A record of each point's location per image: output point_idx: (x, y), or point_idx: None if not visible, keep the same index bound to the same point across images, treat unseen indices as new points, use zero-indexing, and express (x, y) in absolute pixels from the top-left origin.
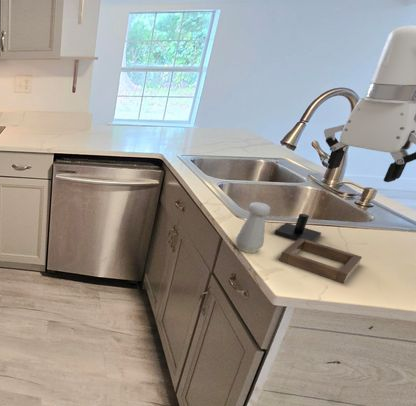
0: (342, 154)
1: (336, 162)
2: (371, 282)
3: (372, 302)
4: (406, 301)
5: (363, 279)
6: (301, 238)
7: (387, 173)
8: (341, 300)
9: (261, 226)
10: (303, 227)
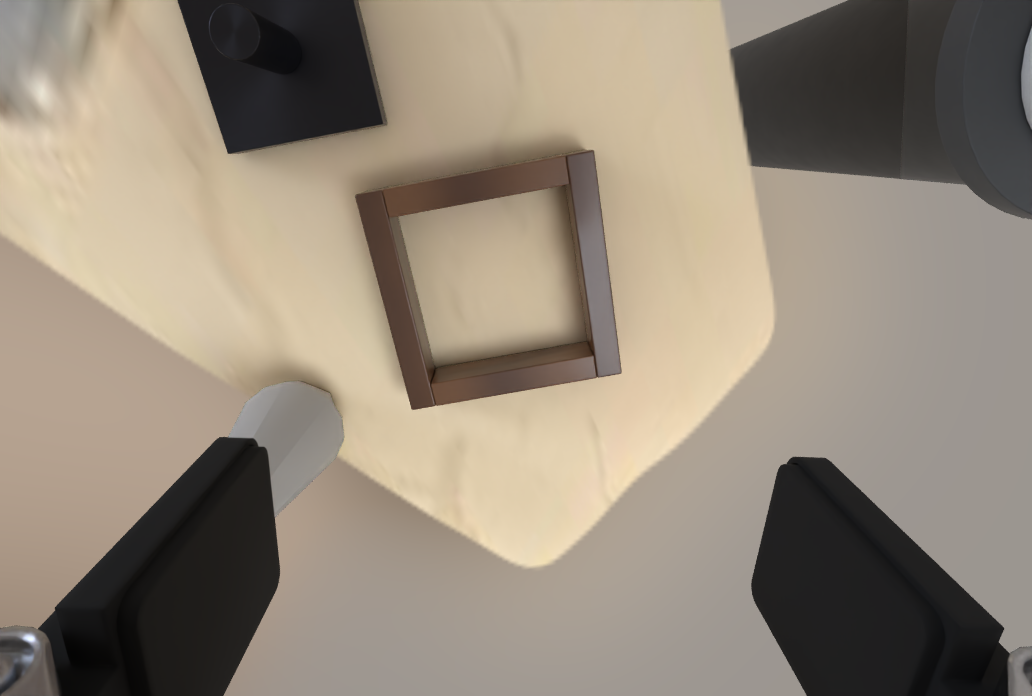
0: (173, 611)
1: (243, 587)
2: (663, 258)
3: (706, 397)
4: (768, 295)
5: (640, 260)
6: (364, 198)
7: (801, 670)
8: (650, 464)
9: (294, 492)
10: (287, 54)
